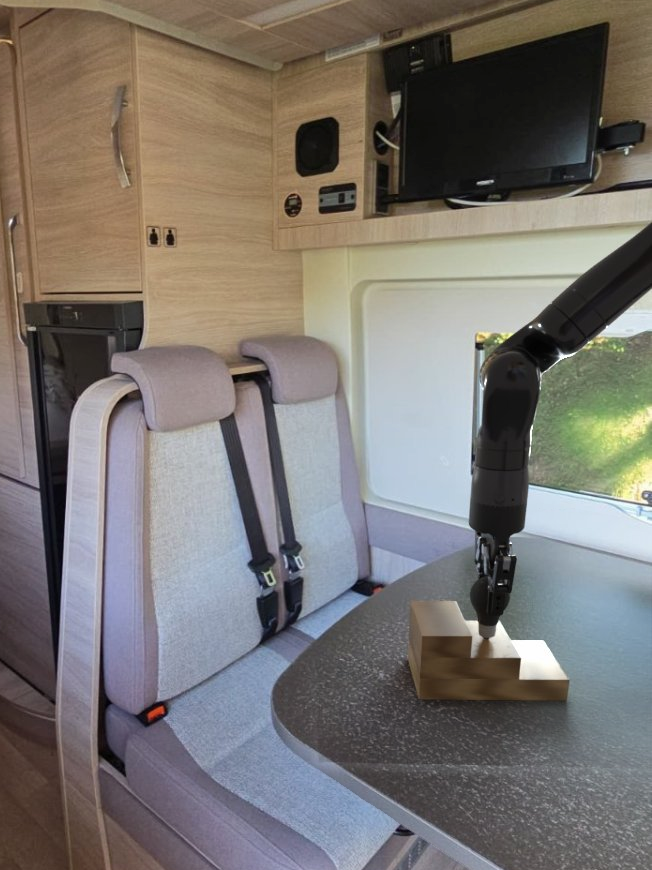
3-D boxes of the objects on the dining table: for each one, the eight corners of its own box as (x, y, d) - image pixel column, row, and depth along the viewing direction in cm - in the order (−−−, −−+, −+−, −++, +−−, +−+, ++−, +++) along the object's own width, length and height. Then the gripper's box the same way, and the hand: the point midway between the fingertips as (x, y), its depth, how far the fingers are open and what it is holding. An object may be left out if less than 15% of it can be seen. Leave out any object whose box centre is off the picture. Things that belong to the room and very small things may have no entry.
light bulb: (485, 650, 105) (490, 588, 101) (458, 635, 110) (462, 574, 106) (514, 641, 107) (520, 579, 103) (487, 626, 112) (492, 567, 108)
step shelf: (541, 659, 115) (548, 600, 112) (566, 701, 104) (575, 636, 100) (407, 659, 118) (410, 600, 114) (418, 699, 106) (422, 636, 103)
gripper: (542, 511, 93) (530, 627, 99) (512, 481, 107) (503, 585, 113) (483, 512, 94) (474, 627, 100) (460, 482, 108) (453, 586, 114)
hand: (489, 604), depth 106 cm, fingers closed on light bulb, 5 cm apart
